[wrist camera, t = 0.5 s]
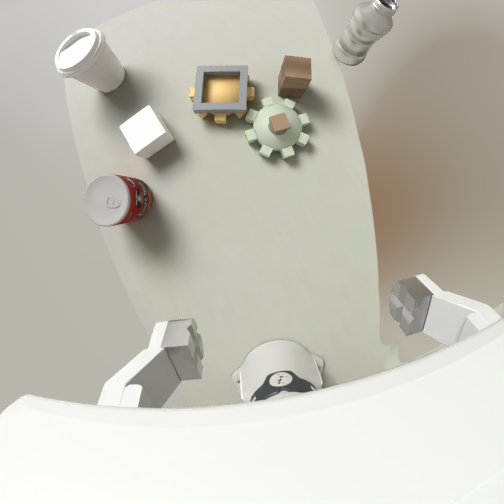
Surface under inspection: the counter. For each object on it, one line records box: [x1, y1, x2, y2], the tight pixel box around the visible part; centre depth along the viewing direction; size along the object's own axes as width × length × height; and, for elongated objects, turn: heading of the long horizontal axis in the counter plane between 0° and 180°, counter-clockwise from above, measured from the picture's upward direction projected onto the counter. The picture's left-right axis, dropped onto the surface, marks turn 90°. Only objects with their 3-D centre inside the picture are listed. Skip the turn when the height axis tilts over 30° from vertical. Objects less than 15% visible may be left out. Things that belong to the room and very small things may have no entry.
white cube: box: [120, 105, 175, 159], centre depth 40 cm, size 6×6×6 cm
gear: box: [245, 97, 310, 159], centre depth 41 cm, size 11×11×5 cm
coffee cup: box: [55, 28, 125, 93], centre depth 33 cm, size 10×10×15 cm
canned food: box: [84, 174, 152, 227], centre depth 40 cm, size 8×8×11 cm
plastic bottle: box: [333, 0, 399, 66], centre depth 31 cm, size 6×7×20 cm
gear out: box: [190, 65, 254, 124], centre depth 40 cm, size 11×11×4 cm
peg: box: [278, 56, 312, 98], centre depth 38 cm, size 4×4×8 cm
